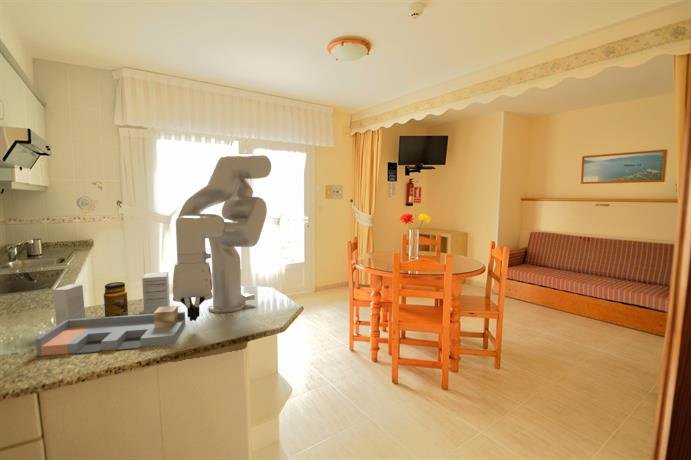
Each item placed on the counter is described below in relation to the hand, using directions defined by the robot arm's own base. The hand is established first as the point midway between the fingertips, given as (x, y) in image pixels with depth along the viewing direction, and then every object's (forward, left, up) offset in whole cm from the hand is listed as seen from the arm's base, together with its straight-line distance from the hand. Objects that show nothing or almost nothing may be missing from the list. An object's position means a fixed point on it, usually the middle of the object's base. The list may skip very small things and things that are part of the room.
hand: (193, 319), depth 98 cm
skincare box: (+33, -21, -4) cm, 40 cm away
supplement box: (+10, -24, -4) cm, 27 cm away
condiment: (+22, -19, -4) cm, 30 cm away
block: (+7, -2, -1) cm, 7 cm away
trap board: (+18, -2, -3) cm, 19 cm away
